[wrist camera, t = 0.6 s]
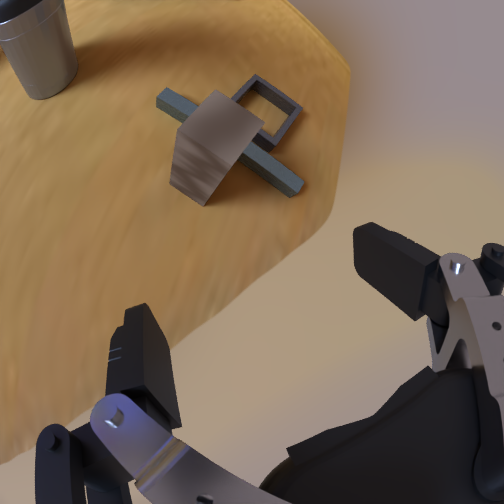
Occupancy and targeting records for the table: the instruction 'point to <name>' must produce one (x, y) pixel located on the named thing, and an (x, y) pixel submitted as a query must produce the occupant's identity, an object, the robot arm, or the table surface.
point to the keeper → (253, 153)
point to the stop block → (210, 145)
